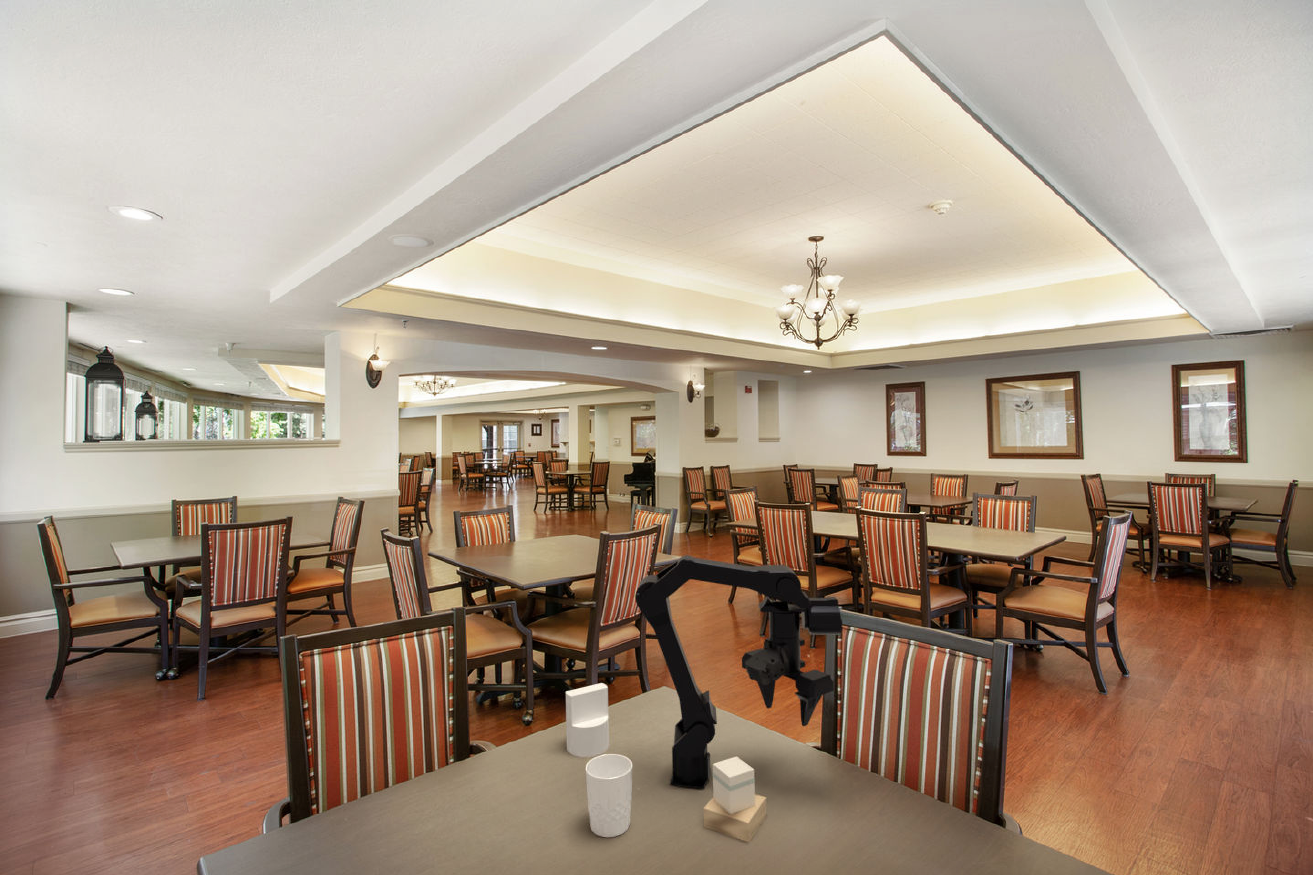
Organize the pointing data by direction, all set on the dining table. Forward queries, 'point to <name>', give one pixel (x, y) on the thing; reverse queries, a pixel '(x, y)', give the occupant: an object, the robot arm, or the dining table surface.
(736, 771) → the white banded box
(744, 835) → the oak block
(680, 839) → the dining table surface
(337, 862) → the dining table surface
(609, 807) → the white cup
